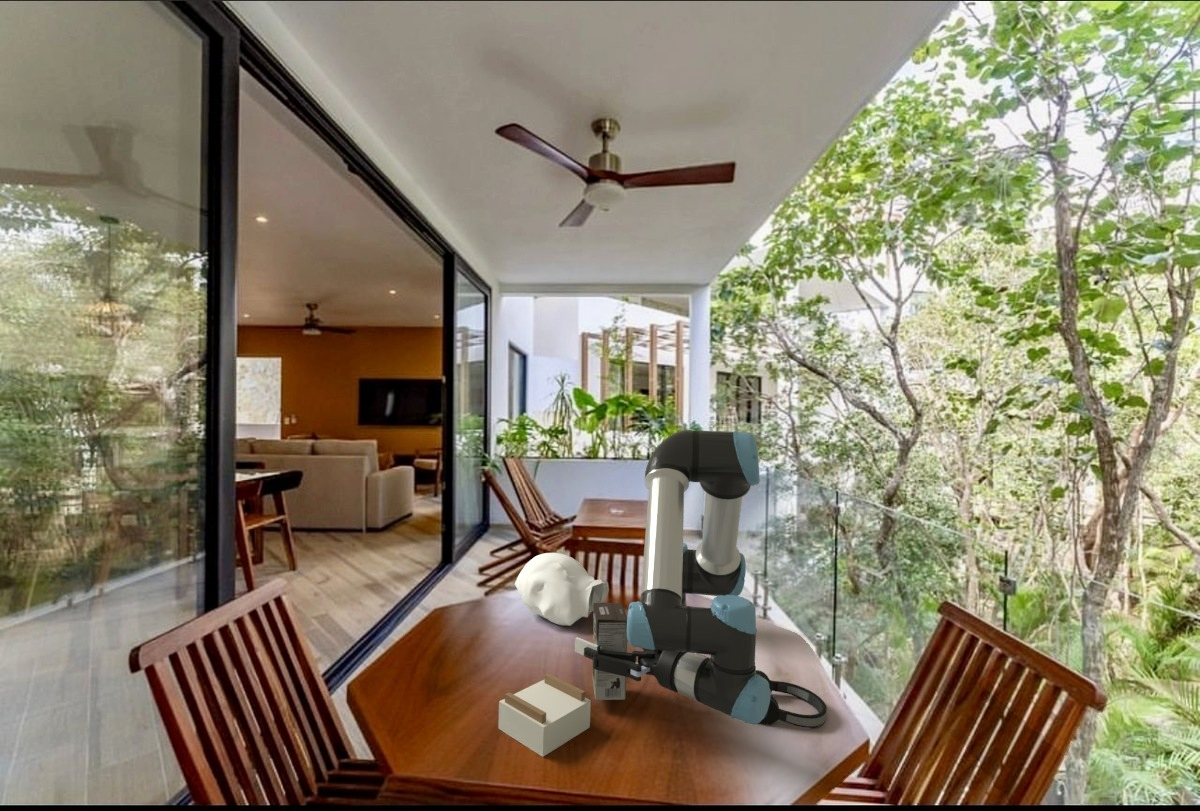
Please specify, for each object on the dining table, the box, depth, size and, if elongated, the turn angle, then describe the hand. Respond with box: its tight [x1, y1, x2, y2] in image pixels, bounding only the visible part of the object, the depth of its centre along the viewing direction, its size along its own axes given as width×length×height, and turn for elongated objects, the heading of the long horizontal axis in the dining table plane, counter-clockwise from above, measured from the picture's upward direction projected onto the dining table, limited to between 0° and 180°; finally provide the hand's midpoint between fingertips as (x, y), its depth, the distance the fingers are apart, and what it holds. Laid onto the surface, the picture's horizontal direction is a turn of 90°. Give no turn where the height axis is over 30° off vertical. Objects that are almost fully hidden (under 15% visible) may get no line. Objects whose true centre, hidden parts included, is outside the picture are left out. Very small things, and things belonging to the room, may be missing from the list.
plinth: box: [497, 673, 591, 758], centre depth 100 cm, size 12×12×6 cm
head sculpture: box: [514, 552, 610, 627], centre depth 154 cm, size 18×20×25 cm
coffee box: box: [591, 602, 628, 701], centre depth 111 cm, size 9×6×16 cm
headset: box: [756, 669, 828, 729], centre depth 109 cm, size 13×9×19 cm
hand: (594, 636), depth 114 cm, fingers closed on coffee box, 10 cm apart
